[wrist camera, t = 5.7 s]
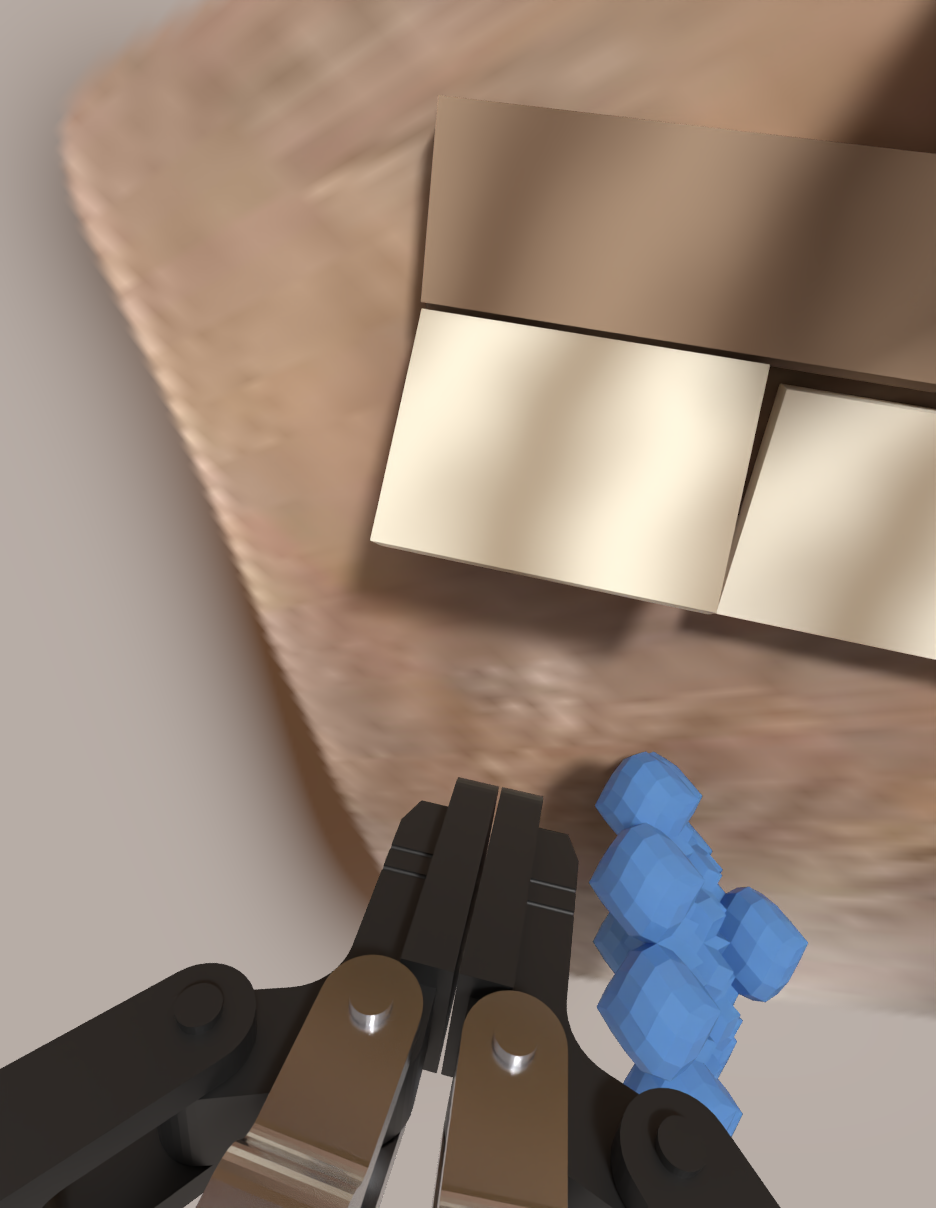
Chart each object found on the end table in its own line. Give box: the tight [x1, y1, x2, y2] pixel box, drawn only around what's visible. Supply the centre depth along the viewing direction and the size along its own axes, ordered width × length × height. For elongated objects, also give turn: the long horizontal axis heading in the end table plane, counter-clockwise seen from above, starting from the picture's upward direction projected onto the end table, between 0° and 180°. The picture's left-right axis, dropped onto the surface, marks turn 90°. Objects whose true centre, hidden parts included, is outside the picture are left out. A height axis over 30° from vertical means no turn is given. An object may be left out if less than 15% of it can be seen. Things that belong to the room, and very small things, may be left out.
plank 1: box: [370, 309, 770, 614], centre depth 21 cm, size 10×7×1 cm
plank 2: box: [716, 383, 936, 660], centre depth 22 cm, size 10×7×1 cm
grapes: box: [589, 752, 808, 1137], centre depth 24 cm, size 12×7×12 cm, turn 15°
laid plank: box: [421, 95, 936, 393], centre depth 19 cm, size 21×5×1 cm, turn 82°
